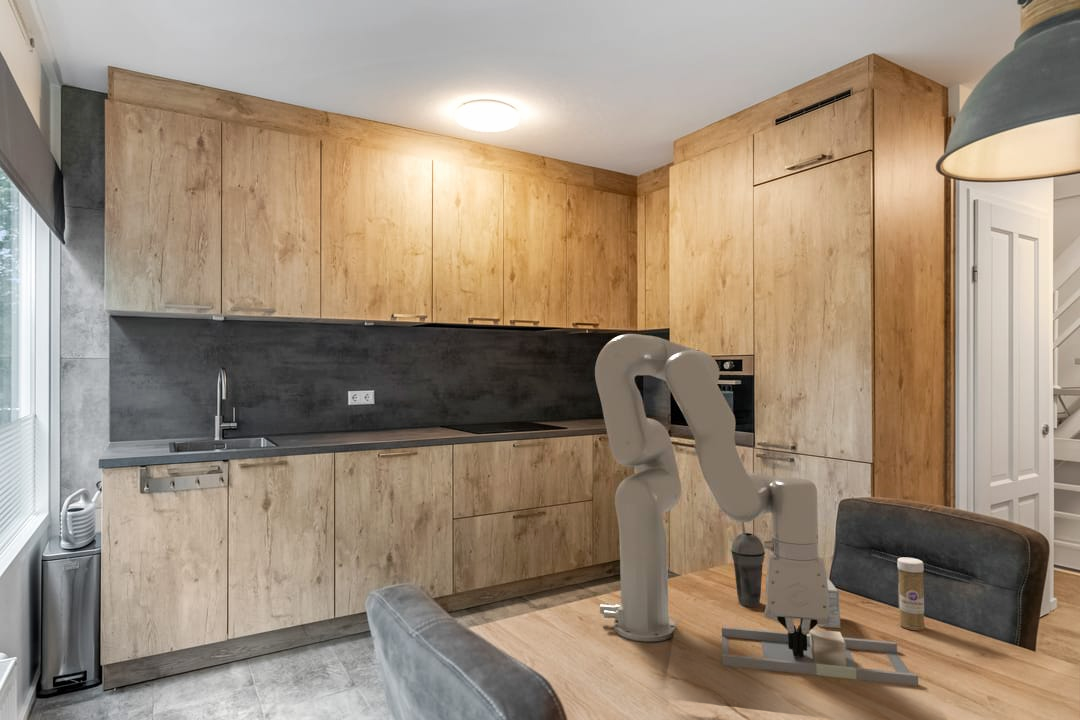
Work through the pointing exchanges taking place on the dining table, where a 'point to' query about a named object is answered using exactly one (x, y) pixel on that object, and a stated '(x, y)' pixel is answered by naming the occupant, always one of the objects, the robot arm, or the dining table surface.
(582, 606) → the dining table surface
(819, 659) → the cream block
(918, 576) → the sprinkles bottle
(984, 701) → the dining table surface
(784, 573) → the robot arm
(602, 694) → the dining table surface
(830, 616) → the medicine box
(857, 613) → the dining table surface
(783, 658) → the track
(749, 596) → the beverage cup
